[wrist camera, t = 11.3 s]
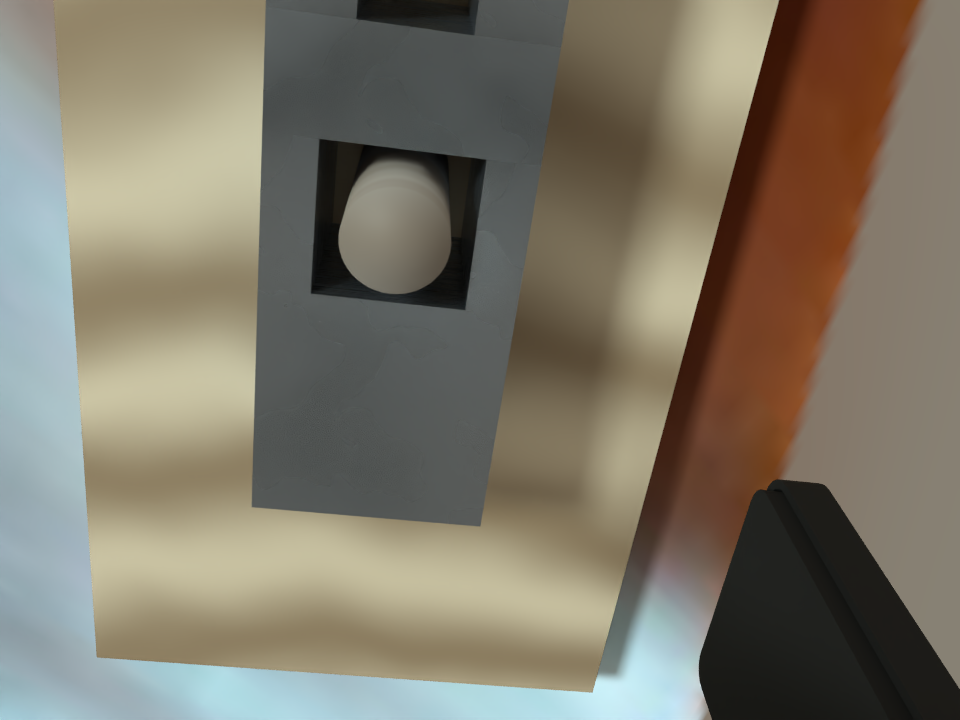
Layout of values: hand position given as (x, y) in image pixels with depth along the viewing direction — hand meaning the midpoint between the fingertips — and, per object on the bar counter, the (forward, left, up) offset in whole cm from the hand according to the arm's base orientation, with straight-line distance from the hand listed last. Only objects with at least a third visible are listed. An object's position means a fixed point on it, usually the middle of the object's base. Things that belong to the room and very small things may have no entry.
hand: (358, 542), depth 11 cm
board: (-4, -3, -18) cm, 19 cm away
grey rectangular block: (0, 0, -16) cm, 16 cm away
